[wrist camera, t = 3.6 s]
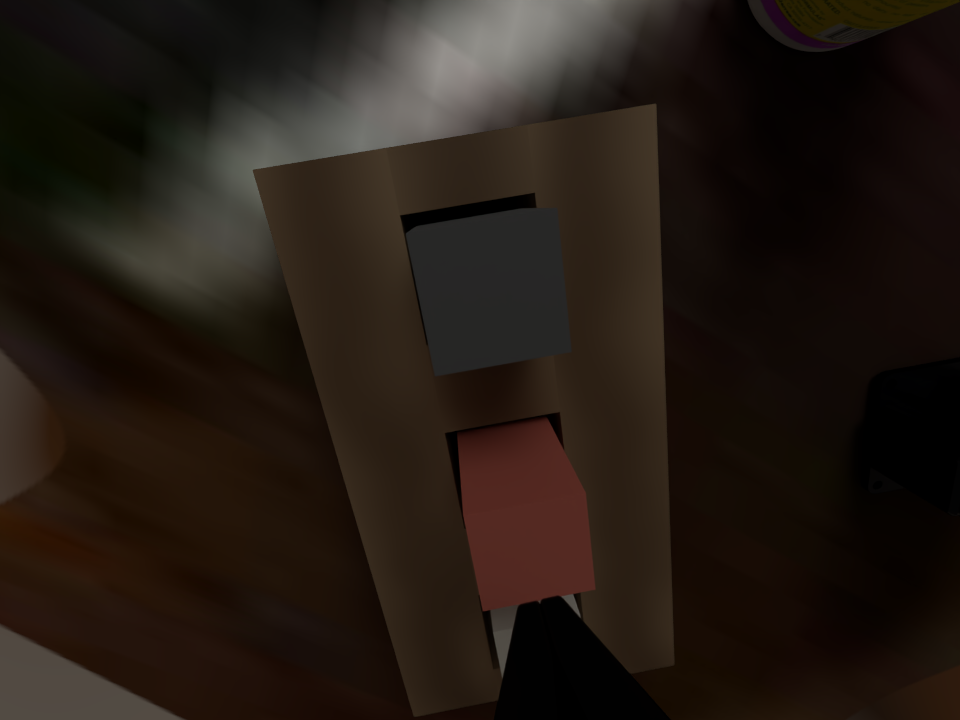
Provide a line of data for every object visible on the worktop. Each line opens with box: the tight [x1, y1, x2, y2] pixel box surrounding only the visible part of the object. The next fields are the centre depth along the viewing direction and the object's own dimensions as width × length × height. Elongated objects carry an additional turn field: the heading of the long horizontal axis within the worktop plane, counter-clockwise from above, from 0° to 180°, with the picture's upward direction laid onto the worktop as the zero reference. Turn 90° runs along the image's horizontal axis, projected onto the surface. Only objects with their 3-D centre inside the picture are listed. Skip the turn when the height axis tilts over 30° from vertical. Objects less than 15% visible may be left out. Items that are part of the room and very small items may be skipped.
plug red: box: [457, 416, 596, 611], centre depth 15 cm, size 3×3×5 cm
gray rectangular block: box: [406, 208, 572, 376], centre depth 13 cm, size 3×3×5 cm
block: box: [253, 104, 674, 717], centre depth 19 cm, size 12×23×4 cm, turn 9°
